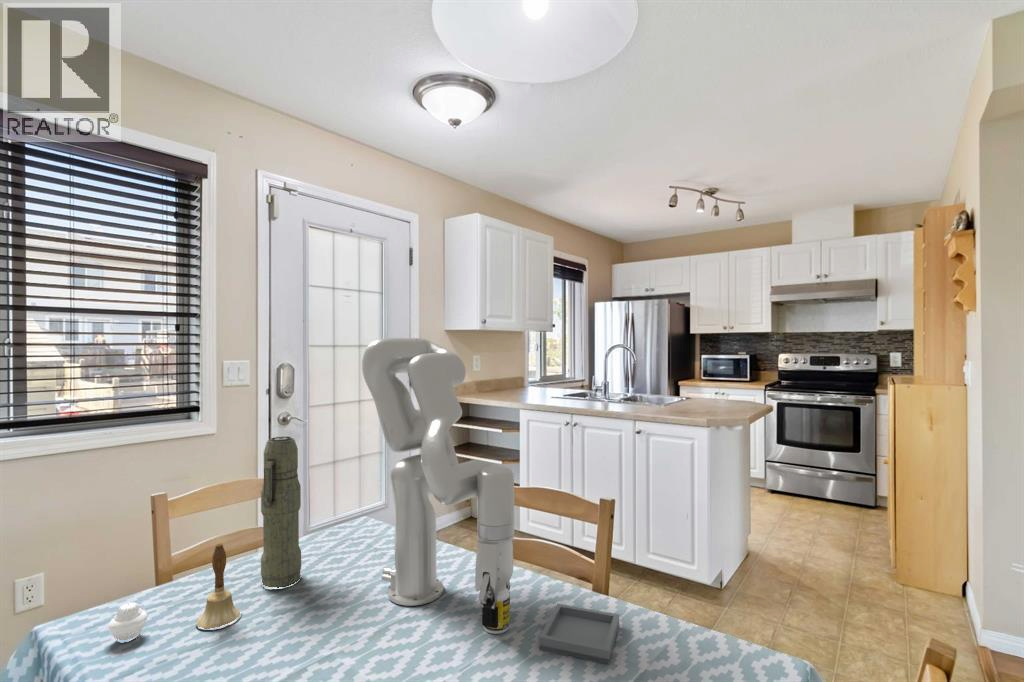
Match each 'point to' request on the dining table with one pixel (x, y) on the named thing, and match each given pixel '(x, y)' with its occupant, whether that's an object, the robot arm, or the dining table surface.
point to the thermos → (280, 513)
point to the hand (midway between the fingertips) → (496, 617)
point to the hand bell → (218, 596)
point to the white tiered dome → (128, 621)
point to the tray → (580, 633)
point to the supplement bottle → (501, 611)
